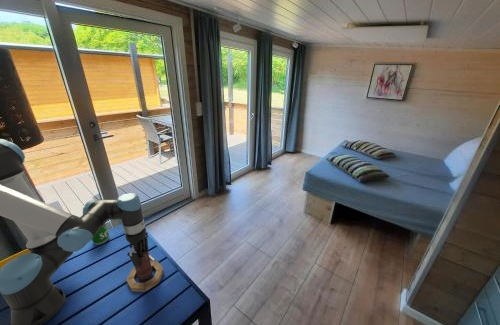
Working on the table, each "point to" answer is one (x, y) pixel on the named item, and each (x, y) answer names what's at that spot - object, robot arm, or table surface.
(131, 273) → the wooden ring
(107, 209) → the robot arm
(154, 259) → the straight beige square stick
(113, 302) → the table surface
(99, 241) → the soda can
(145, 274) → the can
